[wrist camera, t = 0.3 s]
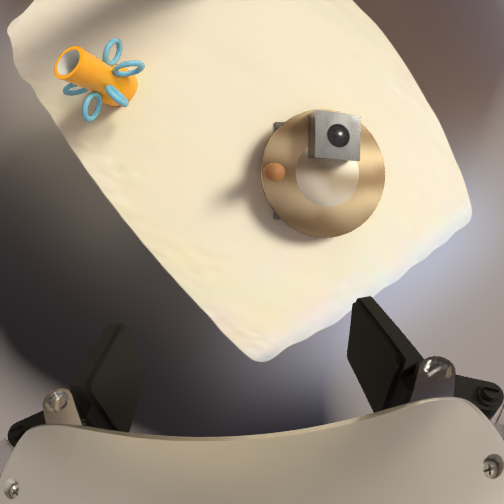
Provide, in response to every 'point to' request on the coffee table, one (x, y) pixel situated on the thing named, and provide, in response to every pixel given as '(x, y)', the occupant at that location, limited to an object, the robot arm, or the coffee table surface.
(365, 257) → the coffee table surface
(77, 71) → the cylinder
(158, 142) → the coffee table surface
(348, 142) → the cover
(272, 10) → the coffee table surface
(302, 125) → the turntable
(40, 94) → the coffee table surface
